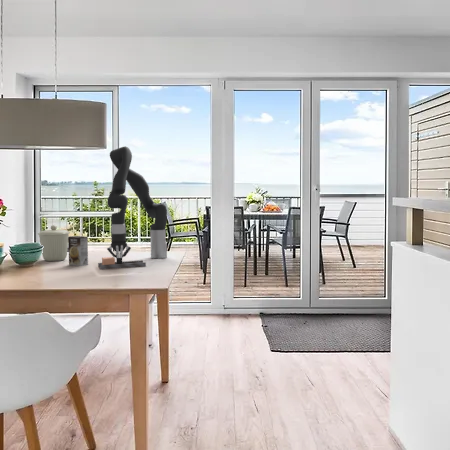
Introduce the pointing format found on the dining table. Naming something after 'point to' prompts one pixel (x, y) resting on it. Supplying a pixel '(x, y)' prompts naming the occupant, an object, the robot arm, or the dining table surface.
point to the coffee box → (78, 250)
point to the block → (108, 260)
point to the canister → (54, 244)
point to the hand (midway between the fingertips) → (119, 264)
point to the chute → (123, 265)
